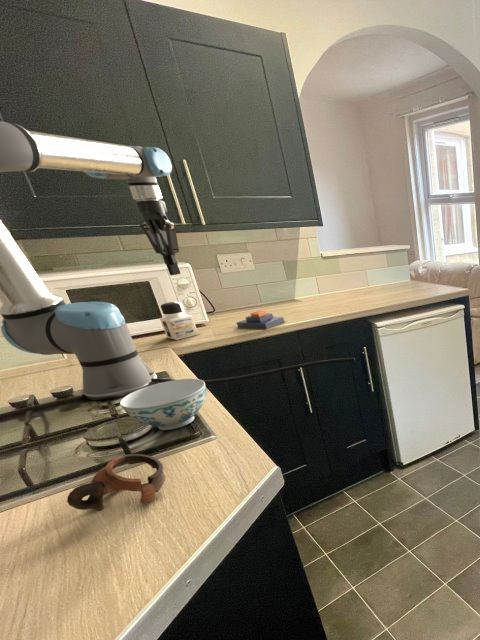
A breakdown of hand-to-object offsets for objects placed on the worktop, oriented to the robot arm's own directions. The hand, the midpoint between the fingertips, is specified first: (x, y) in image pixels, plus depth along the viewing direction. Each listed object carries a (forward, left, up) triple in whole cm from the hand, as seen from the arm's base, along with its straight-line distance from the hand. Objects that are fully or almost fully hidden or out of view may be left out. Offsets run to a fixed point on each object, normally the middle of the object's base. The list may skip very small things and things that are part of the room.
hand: (175, 274), depth 146 cm
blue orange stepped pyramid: (-8, -22, -24) cm, 33 cm away
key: (-8, -22, -21) cm, 31 cm away
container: (+12, -4, -24) cm, 28 cm away
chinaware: (-55, +53, -24) cm, 80 cm away
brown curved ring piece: (-73, +77, -24) cm, 109 cm away
